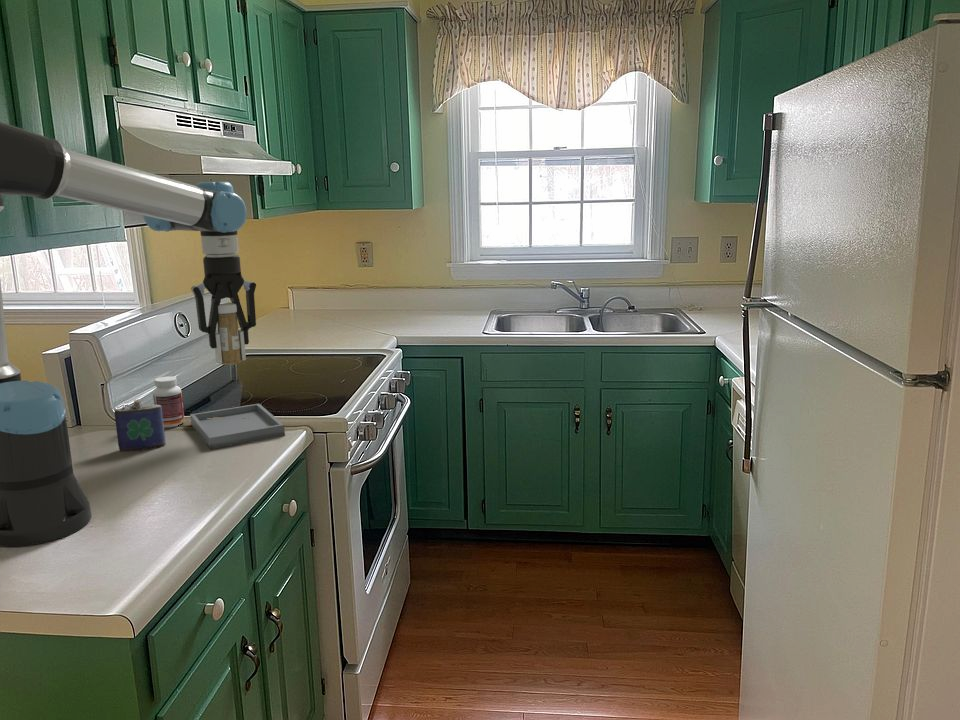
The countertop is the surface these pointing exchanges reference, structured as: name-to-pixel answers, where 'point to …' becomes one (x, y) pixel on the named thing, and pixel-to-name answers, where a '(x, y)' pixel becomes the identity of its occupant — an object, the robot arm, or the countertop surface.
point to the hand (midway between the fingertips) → (230, 360)
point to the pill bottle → (169, 400)
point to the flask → (139, 427)
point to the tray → (236, 426)
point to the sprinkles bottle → (229, 334)
